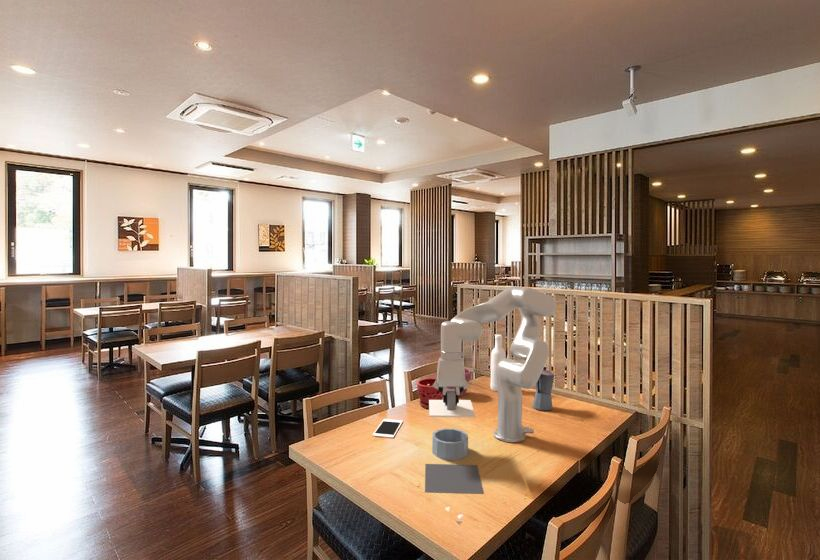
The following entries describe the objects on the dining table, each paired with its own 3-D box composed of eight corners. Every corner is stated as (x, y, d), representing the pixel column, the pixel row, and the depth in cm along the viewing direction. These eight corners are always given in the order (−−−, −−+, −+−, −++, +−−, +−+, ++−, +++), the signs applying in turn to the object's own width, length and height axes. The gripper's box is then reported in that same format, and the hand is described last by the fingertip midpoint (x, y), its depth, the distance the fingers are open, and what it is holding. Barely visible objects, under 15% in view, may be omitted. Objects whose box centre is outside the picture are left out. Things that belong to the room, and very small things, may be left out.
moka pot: (557, 405, 212) (558, 365, 211) (548, 415, 199) (549, 372, 198) (537, 402, 217) (538, 362, 216) (528, 411, 204) (529, 369, 203)
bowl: (466, 446, 166) (466, 428, 166) (469, 462, 153) (469, 443, 153) (432, 445, 167) (432, 428, 167) (432, 461, 154) (432, 442, 154)
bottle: (488, 387, 241) (489, 333, 240) (502, 386, 242) (503, 333, 240) (492, 391, 233) (493, 336, 232) (506, 391, 234) (507, 336, 232)
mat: (477, 467, 150) (477, 465, 150) (483, 497, 132) (483, 493, 132) (425, 466, 151) (425, 463, 151) (424, 495, 133) (424, 492, 133)
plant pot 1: (426, 399, 221) (426, 376, 220) (449, 404, 213) (449, 380, 212) (411, 406, 210) (412, 382, 209) (434, 412, 202) (434, 387, 202)
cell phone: (403, 422, 191) (403, 420, 191) (393, 439, 174) (393, 437, 174) (383, 420, 193) (383, 418, 193) (372, 437, 175) (372, 435, 175)
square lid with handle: (470, 401, 167) (470, 384, 166) (475, 417, 151) (475, 398, 150) (428, 401, 167) (428, 384, 167) (429, 417, 151) (429, 398, 151)
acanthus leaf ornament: (459, 527, 118) (459, 520, 118) (442, 515, 124) (442, 509, 124) (478, 516, 123) (478, 510, 123) (460, 505, 128) (460, 499, 128)
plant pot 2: (462, 400, 219) (463, 375, 218) (438, 395, 227) (438, 371, 226) (474, 392, 231) (475, 369, 230) (451, 388, 239) (451, 365, 238)
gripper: (472, 353, 161) (472, 401, 162) (428, 352, 162) (428, 400, 163) (474, 357, 154) (474, 408, 155) (428, 357, 154) (428, 408, 155)
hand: (450, 404), depth 159 cm, fingers closed on square lid with handle, 3 cm apart
